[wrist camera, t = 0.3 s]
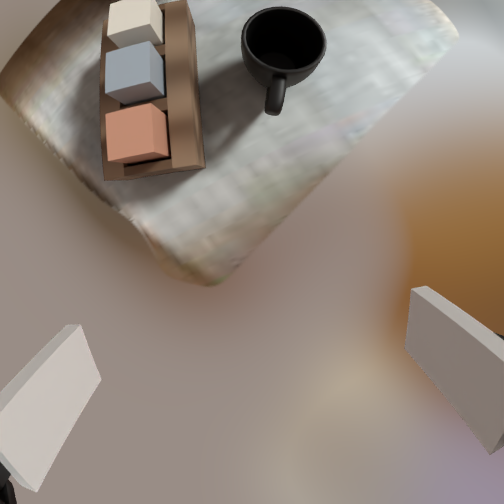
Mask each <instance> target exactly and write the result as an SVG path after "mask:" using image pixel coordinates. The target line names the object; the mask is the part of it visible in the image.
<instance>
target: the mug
mask: <svg viewBox="0 0 504 504" xmlns="http://www.w3.org/2000/svg"><path fill="white" fill-rule="evenodd" d="M241 50H242V56H243V60H244V62H245V65H246V67H247V69H248V71H249V72H250V73H251V75H252V76H253V77H254V78H255V79H256V80H257V81H258V82H259V83H260V84H261V85H263V86H264V87H266V88H268V89H267V94H266V100H265V113H266V114H268V115H273V116H277V115H279V114H280V113H281V110H282V106H283V102H284V97H285V90H286V88H287V87H290V86H293V85H296V84H297V83H299V82H301V81H303V80H304V79H306V78H307V77H308V76H309V75H310V74H311V73H312V72H313V71H314V70H315V69H316V67H317V66H318V64H319V63H320V61H321V60H322V58H323V56H324V55H325V51H326V37H325V34H324V32H323V30H322V28H321V26H320V25H319V24H318V23H317V22H316V21H315V19H313V18H312V17H311V16H309V15H308V14H306V13H304V12H302V11H300V10H297V9H294V8H290V7H271V8H266V9H263V10H261V11H259V12H257V13H255V14H254V15H253V16H251V17H250V18H249V19H248V21H247V22H246V23H245V25H244V27H243V30H242V35H241Z"/></svg>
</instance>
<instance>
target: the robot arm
mask: <svg viewBox="0 0 504 504" xmlns="http://www.w3.org/2000/svg"><path fill="white" fill-rule="evenodd" d="M405 350H406V351H407V352H408V353H409V354H410V355H411V357H412V358H413V359H414V360H415V361H416V363H417V364H418V365H419V366H420V367H421V368H422V370H423V371H424V372H425V373H426V374H427V376H428V377H429V378H430V379H431V380H432V381H433V383H434V384H435V385H436V387H438V389H439V390H440V391H441V393H442V394H443V395H444V396H445V397H446V399H447V400H448V401H449V402H450V404H451V405H452V406H453V407H454V409H455V410H456V411H457V412H458V414H459V415H460V416H461V418H462V419H463V420H464V421H465V423H466V424H467V425H468V427H469V428H470V429H471V430H472V432H473V433H474V435H475V436H476V437H477V439H478V440H479V441H480V443H481V444H482V445H483V446H484V448H485V449H486V450H487V452H488V453H489V455H491V454H492V453H494V452H495V451H497V450H498V449H500V448H502V447H503V446H504V336H502V335H499V334H497V333H494V332H492V331H490V330H489V329H488V328H487V327H485V326H484V325H482V324H481V323H480V322H478V321H477V320H475V319H474V318H473V317H471V316H469V315H468V314H467V313H466V312H464V311H463V310H461V309H460V308H459V307H457V306H456V305H454V304H453V303H451V302H450V301H448V300H447V299H445V298H444V297H443V296H441V295H440V294H438V293H437V292H435V291H433V290H432V289H431V288H429V287H428V286H423V287H418V288H413V289H411V297H410V308H409V317H408V326H407V335H406V341H405ZM100 381H101V377H100V374H99V372H98V370H97V367H96V365H95V362H94V360H93V357H92V354H91V352H90V349H89V346H88V344H87V341H86V338H85V335H84V332H83V330H82V327H81V325H66V326H65V327H64V328H63V329H62V330H61V331H60V332H59V333H58V334H57V335H56V336H55V337H53V338H52V339H51V341H49V342H48V343H47V344H46V345H45V346H44V347H43V348H42V349H41V350H40V351H39V352H38V353H37V354H36V355H35V356H34V357H33V358H32V359H31V360H30V361H29V362H28V363H27V364H26V366H24V368H22V369H21V370H20V371H19V373H17V375H16V376H15V377H14V378H13V379H12V380H11V381H10V382H9V383H8V384H7V385H6V386H5V387H4V388H3V389H2V391H1V392H0V504H17V502H16V498H15V493H14V488H13V485H12V483H11V482H10V481H9V480H8V478H9V476H10V475H12V476H13V477H14V478H15V479H16V480H17V481H18V483H20V485H22V486H23V487H26V488H28V489H30V490H32V491H35V492H37V491H38V490H39V488H40V486H41V484H42V482H43V480H44V478H45V476H46V474H47V472H48V470H49V469H50V467H51V465H52V463H53V461H54V459H55V458H56V456H57V454H58V452H59V450H60V449H61V447H62V445H63V443H64V441H65V440H66V438H67V436H68V434H69V432H70V431H71V429H72V428H73V426H74V424H75V422H76V421H77V419H78V417H79V416H80V414H81V412H82V411H83V409H84V407H85V406H86V404H87V402H88V401H89V398H90V397H91V396H92V394H93V392H94V391H95V389H96V388H97V386H98V384H99V383H100Z"/></svg>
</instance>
